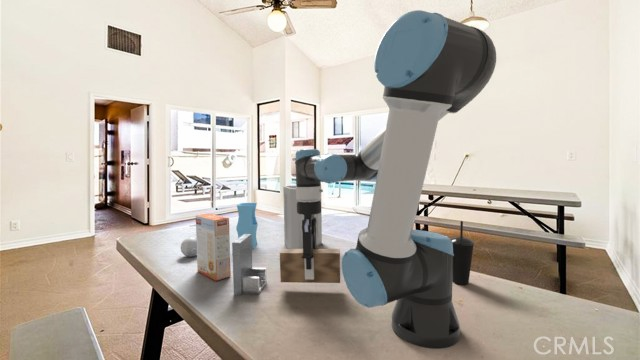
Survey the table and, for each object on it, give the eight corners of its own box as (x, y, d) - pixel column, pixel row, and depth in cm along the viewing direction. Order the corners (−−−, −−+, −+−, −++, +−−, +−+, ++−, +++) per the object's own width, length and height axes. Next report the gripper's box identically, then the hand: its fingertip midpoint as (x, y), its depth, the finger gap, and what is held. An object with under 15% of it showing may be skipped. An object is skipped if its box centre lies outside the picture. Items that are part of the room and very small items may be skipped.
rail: (340, 277, 91) (339, 248, 91) (340, 283, 87) (339, 253, 86) (283, 276, 93) (282, 248, 92) (280, 282, 88) (279, 253, 88)
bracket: (257, 295, 87) (256, 243, 86) (233, 294, 88) (232, 242, 86) (267, 281, 97) (266, 234, 96) (245, 281, 97) (244, 234, 96)
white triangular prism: (297, 238, 149) (296, 184, 147) (322, 242, 141) (321, 185, 139) (273, 248, 133) (271, 187, 131) (300, 254, 125) (298, 189, 123)
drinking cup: (472, 289, 89) (474, 225, 88) (445, 283, 93) (446, 222, 92) (474, 280, 96) (476, 220, 95) (449, 275, 100) (450, 218, 99)
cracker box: (232, 276, 101) (230, 217, 100) (215, 282, 97) (213, 220, 95) (212, 267, 111) (210, 212, 109) (197, 271, 106) (194, 214, 105)
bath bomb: (203, 256, 123) (202, 238, 122) (182, 260, 118) (181, 241, 118) (199, 252, 129) (198, 234, 129) (179, 255, 125) (178, 237, 124)
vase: (254, 248, 134) (252, 205, 132) (237, 248, 134) (235, 205, 132) (258, 243, 141) (256, 202, 140) (241, 243, 142) (240, 202, 140)
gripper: (317, 204, 79) (319, 287, 81) (323, 197, 97) (325, 266, 98) (290, 204, 80) (293, 287, 81) (301, 197, 98) (303, 265, 99)
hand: (310, 275), depth 90 cm, fingers closed on rail, 5 cm apart
